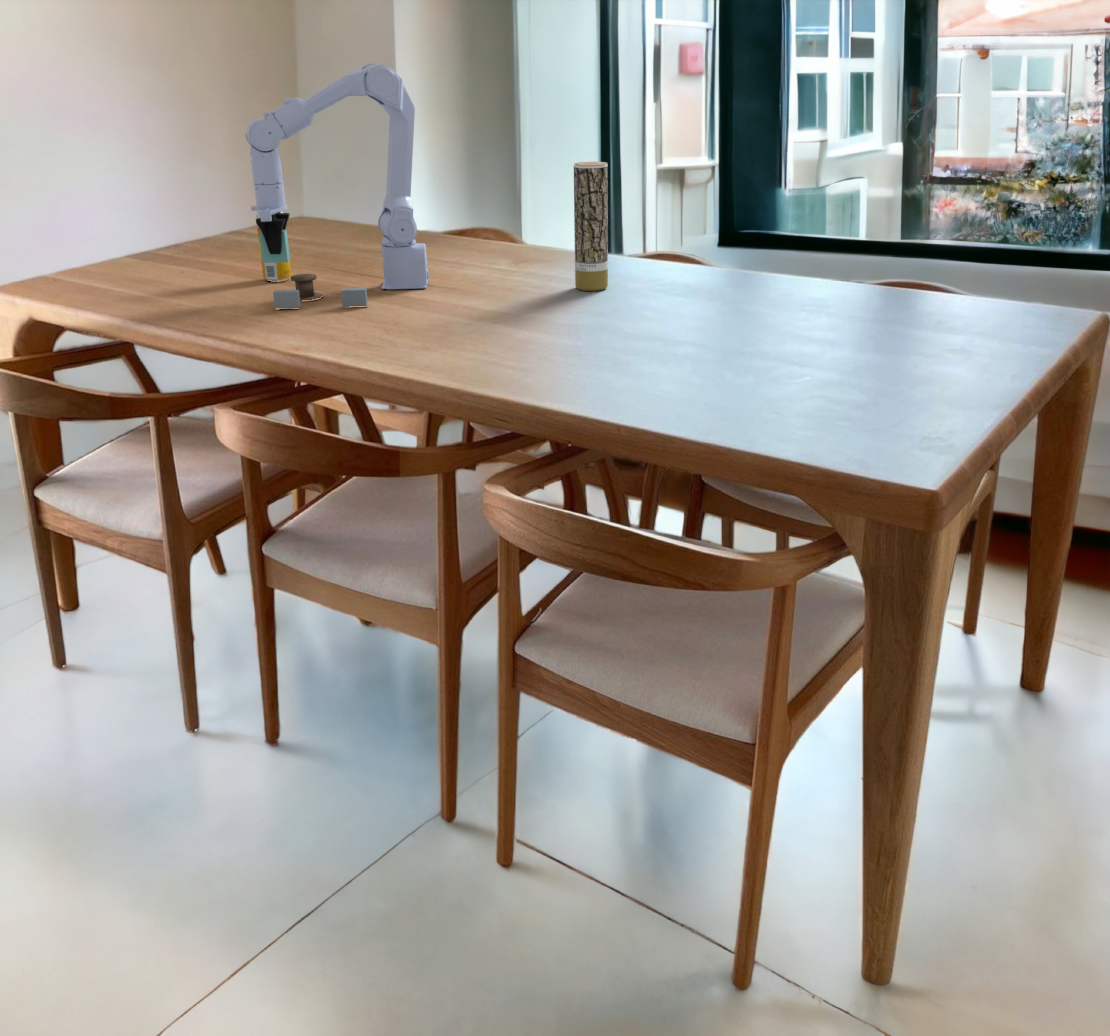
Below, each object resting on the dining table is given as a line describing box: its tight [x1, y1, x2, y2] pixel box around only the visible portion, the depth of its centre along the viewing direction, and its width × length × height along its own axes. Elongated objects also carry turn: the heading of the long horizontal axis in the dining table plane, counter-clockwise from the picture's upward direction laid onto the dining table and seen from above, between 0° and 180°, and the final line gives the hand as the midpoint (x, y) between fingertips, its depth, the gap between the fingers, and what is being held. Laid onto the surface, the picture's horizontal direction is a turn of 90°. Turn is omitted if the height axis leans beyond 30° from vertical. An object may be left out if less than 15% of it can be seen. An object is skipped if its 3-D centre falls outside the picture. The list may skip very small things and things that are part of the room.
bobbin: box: [289, 273, 324, 301], centre depth 234 cm, size 7×7×4 cm
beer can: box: [255, 211, 292, 281], centre depth 249 cm, size 6×6×15 cm
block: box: [259, 228, 291, 263], centre depth 231 cm, size 5×3×6 cm, turn 93°
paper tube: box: [573, 161, 609, 292], centre depth 233 cm, size 7×7×25 cm
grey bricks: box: [272, 287, 369, 309], centre depth 226 cm, size 18×2×4 cm, turn 93°
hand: (277, 252), depth 232 cm, fingers closed on block, 3 cm apart
